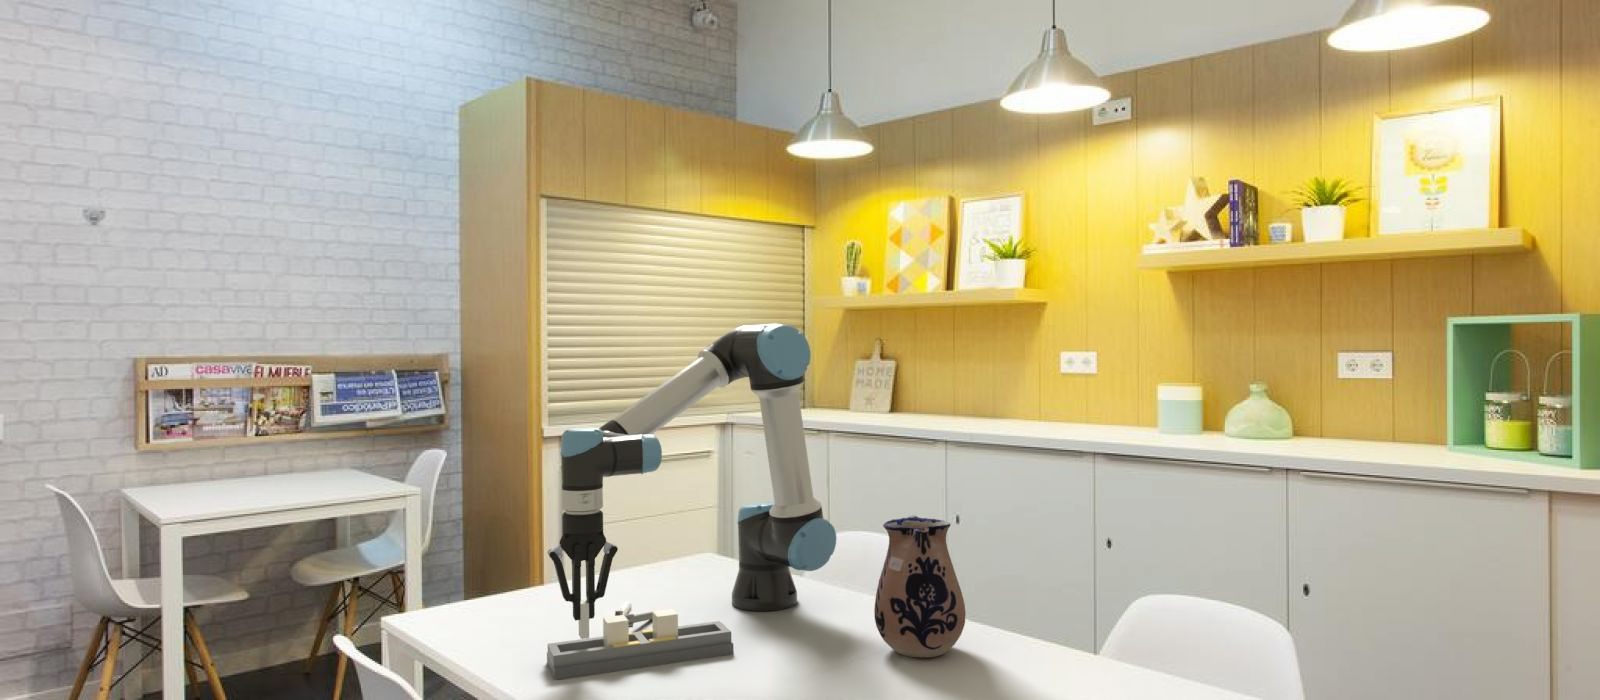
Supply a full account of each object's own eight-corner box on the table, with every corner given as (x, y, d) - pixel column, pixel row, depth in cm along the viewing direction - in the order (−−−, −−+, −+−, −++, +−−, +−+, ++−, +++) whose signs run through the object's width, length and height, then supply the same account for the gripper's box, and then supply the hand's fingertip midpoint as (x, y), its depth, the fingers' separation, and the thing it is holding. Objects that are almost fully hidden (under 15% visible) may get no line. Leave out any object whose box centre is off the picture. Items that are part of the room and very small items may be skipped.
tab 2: (672, 639, 188) (672, 608, 188) (678, 645, 184) (677, 614, 184) (652, 641, 186) (652, 611, 186) (657, 647, 183) (657, 616, 183)
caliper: (617, 644, 193) (616, 613, 193) (612, 643, 193) (611, 612, 193) (662, 615, 212) (662, 587, 212) (658, 615, 213) (658, 587, 213)
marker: (624, 607, 219) (624, 597, 219) (633, 607, 219) (633, 597, 219) (606, 632, 201) (606, 620, 201) (616, 632, 201) (616, 620, 201)
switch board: (717, 638, 195) (717, 618, 195) (733, 653, 185) (733, 632, 185) (546, 662, 182) (546, 640, 181) (554, 680, 172) (554, 656, 172)
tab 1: (624, 645, 184) (623, 614, 184) (628, 652, 180) (628, 620, 180) (603, 648, 183) (603, 617, 183) (607, 654, 179) (607, 623, 179)
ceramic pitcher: (887, 669, 176) (885, 534, 175) (862, 634, 196) (860, 513, 196) (978, 663, 178) (977, 529, 178) (944, 629, 199) (943, 509, 199)
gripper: (549, 517, 173) (551, 646, 173) (621, 511, 178) (622, 637, 178) (544, 510, 180) (545, 635, 180) (613, 505, 185) (614, 626, 185)
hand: (583, 636), depth 179 cm, fingers closed
